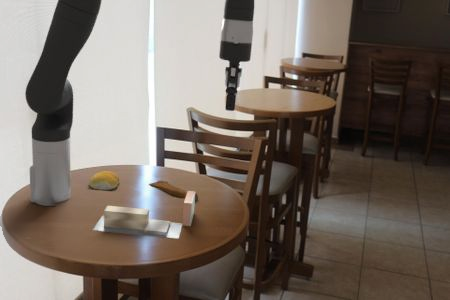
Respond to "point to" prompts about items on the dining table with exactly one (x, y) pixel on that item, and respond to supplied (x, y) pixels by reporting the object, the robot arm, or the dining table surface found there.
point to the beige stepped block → (134, 220)
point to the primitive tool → (171, 189)
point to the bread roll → (104, 180)
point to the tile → (188, 208)
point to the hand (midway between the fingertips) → (230, 106)
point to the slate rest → (172, 231)
